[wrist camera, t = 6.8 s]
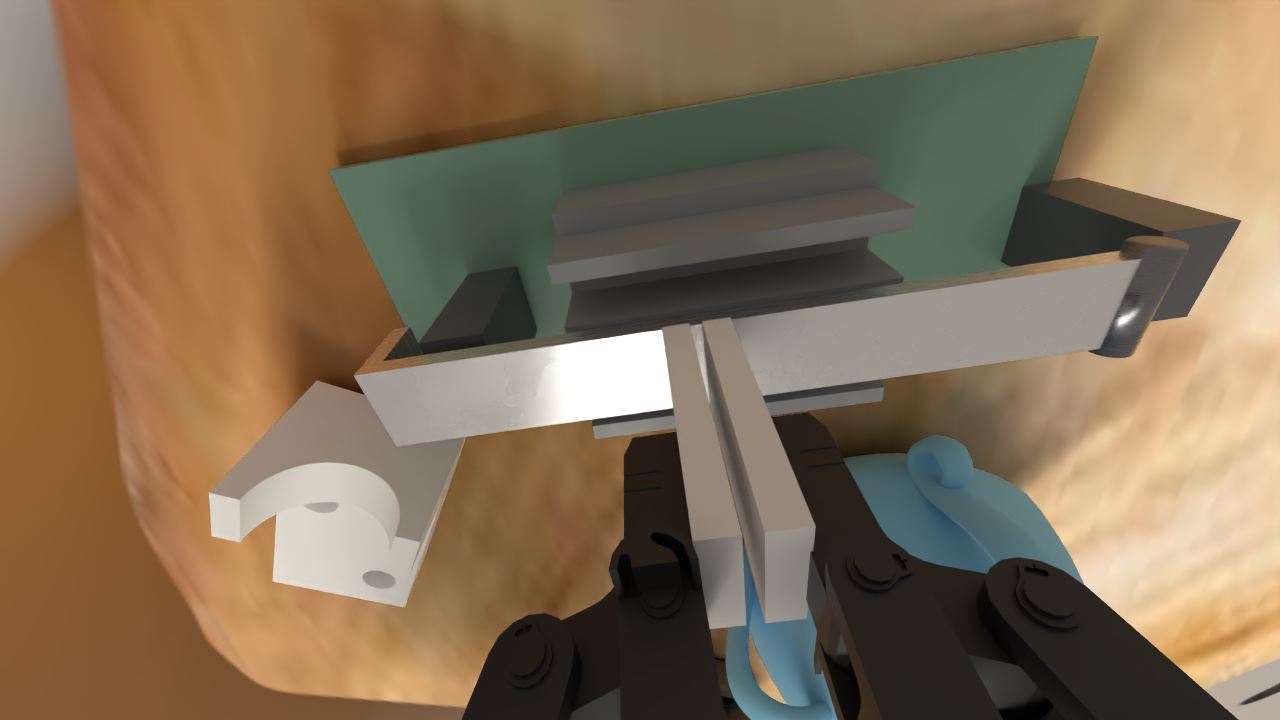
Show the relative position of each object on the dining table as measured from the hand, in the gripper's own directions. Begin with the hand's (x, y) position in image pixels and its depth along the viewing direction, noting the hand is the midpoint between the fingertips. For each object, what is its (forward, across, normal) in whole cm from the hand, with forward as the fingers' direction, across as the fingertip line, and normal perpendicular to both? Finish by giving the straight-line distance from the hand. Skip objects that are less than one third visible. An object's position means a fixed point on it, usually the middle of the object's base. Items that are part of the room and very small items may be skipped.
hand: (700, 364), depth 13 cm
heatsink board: (+8, -1, 0) cm, 8 cm away
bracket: (+8, +18, +10) cm, 22 cm away
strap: (+3, -2, 0) cm, 3 cm away
